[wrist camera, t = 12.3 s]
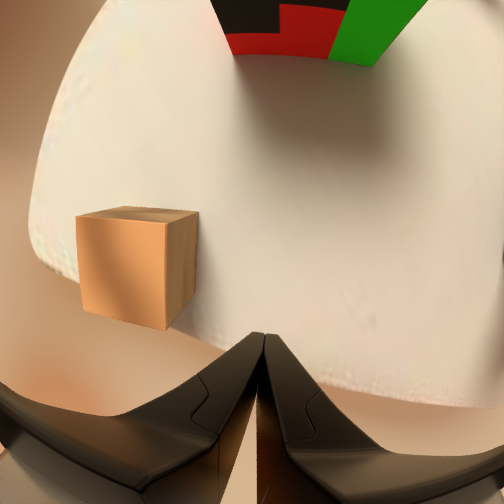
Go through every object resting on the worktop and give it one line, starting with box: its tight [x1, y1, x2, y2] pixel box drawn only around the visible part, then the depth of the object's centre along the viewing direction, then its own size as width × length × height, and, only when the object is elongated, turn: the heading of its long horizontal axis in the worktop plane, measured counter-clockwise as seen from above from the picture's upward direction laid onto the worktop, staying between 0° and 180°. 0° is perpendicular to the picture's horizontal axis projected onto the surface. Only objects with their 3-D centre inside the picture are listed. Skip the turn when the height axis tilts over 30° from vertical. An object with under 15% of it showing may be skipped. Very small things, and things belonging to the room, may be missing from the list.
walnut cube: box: [76, 206, 199, 331], centre depth 17 cm, size 6×6×6 cm
